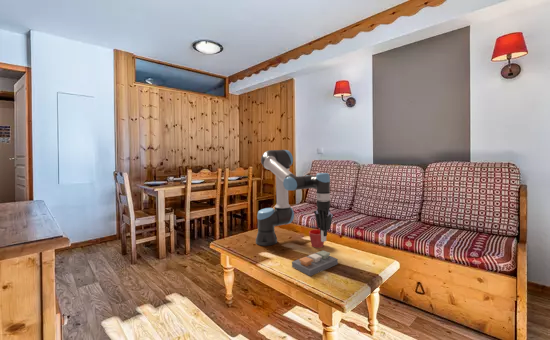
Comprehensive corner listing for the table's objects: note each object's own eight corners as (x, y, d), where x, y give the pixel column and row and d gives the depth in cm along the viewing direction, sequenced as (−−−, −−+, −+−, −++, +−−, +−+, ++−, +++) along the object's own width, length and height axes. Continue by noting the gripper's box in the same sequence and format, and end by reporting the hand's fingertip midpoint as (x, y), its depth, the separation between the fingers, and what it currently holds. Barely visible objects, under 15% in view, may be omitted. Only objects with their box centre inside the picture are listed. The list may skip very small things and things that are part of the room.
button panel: (292, 266, 146) (292, 261, 146) (319, 256, 159) (319, 251, 159) (310, 276, 135) (310, 270, 134) (337, 264, 148) (337, 258, 148)
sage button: (317, 257, 151) (317, 252, 151) (323, 255, 155) (323, 250, 154) (323, 260, 147) (323, 255, 147) (330, 257, 150) (330, 252, 150)
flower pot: (307, 243, 181) (307, 229, 181) (323, 242, 182) (323, 228, 182) (311, 249, 171) (310, 234, 170) (327, 248, 172) (327, 233, 171)
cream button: (308, 260, 147) (308, 255, 147) (314, 258, 150) (314, 253, 150) (315, 263, 143) (315, 258, 143) (321, 261, 146) (321, 256, 146)
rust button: (299, 264, 143) (299, 259, 143) (306, 261, 146) (306, 256, 146) (306, 267, 139) (305, 262, 139) (312, 264, 142) (312, 259, 142)
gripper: (310, 199, 151) (310, 239, 153) (327, 202, 141) (328, 245, 143) (319, 198, 156) (319, 236, 157) (336, 201, 145) (337, 242, 147)
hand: (323, 241), depth 150 cm, fingers closed
